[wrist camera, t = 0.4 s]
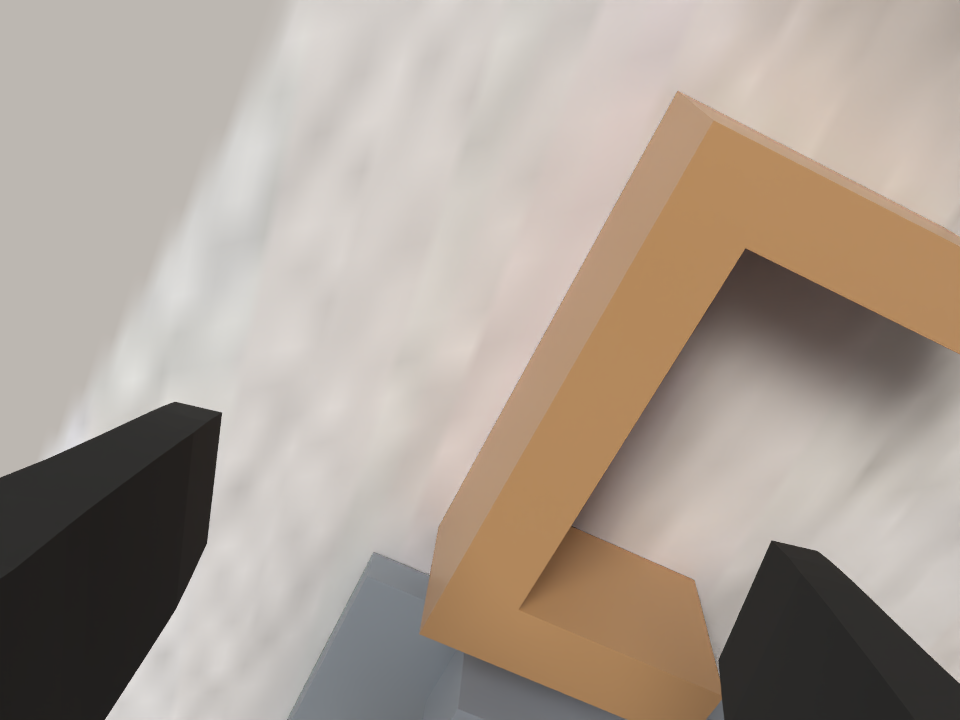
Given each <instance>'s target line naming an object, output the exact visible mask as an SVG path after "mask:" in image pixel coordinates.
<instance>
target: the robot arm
mask: <svg viewBox="0 0 960 720" xmlns="http://www.w3.org/2000/svg"><path fill="white" fill-rule="evenodd" d="M221 417H222V413H221V412H217V411H213V410H208V409H204V408H200V407H195V406H191V405H187V404H182V403H178V402H173V403H170V404H168V405H165V406H163V407H160V408H158V409H156V410H153V411H151V412H149V413H147V414H145V415H142V416H140V417H138V418H136V419H134V420H132V421H130V422H127V423H125V424H123V425H121V426H119V427H117V428H115V429H112V430H110V431H108V432H106V433H104V434H102V435H99V436H97V437H95V438H93V439H91V440H88V441H86V442H84V443H82V444H79V445H77V446H75V447H73V448H71V449H68V450H66V451H64V452H62V453H59V454H57V455H55V456H53V457H51V458H48V459H46V460H43V461H41V462H38V463H36V464H33V465H31V466H28V467H26V468H23V469H21V470H19V471H16V472H13V473H11V474H9V475H6V476H3V477H1V478H0V720H105V719H106V717H107V716H108V714H109V712H110V711H111V709H112V708H113V706H114V705H115V703H116V702H117V700H118V699H119V697H120V696H121V694H122V692H123V691H124V689H125V688H126V686H127V685H128V683H129V682H130V680H131V679H132V677H133V675H134V674H135V672H136V671H137V669H138V668H139V666H140V665H141V663H142V662H143V660H144V659H145V657H146V655H147V654H148V652H149V651H150V649H151V648H152V646H153V644H154V643H155V641H156V640H157V638H158V637H159V635H160V633H161V632H162V630H163V629H164V627H165V626H166V624H167V622H168V621H169V619H170V618H171V616H172V614H173V613H174V611H175V610H176V608H177V606H178V604H179V601H180V599H181V597H182V595H183V593H184V591H185V589H186V587H187V585H188V583H189V581H190V579H191V577H192V575H193V572H194V570H195V568H196V566H197V564H198V561H199V559H200V557H201V555H202V553H203V551H204V548H205V546H206V544H207V538H208V529H209V521H210V512H211V503H212V495H213V486H214V477H215V469H216V460H217V451H218V443H219V434H220V426H221ZM719 671H720V683H721V695H722V705H723V713H724V720H960V684H959V683H958V682H957V681H956V680H955V679H954V678H953V677H952V676H951V675H950V674H949V673H948V672H946V671H945V670H944V669H943V668H942V667H941V666H940V665H939V664H938V663H937V662H936V661H935V660H934V659H933V658H932V657H931V656H930V655H928V654H927V653H926V652H925V651H924V650H923V649H922V648H921V647H920V646H919V645H918V644H917V643H916V642H915V641H914V640H913V639H912V638H911V637H910V636H909V635H908V634H907V633H906V632H905V631H904V630H902V629H901V628H900V627H899V626H898V625H897V624H896V623H895V622H894V621H893V620H892V619H891V618H890V617H889V616H888V615H887V614H886V613H885V612H884V611H883V610H882V609H881V608H880V607H879V606H878V605H877V604H876V603H875V602H874V601H873V600H872V599H871V598H869V597H868V596H867V595H866V594H865V593H864V592H863V591H862V590H861V589H860V588H859V587H858V586H857V585H856V584H855V583H854V582H853V581H852V580H851V579H849V578H848V577H847V576H846V575H845V574H844V573H843V572H842V571H841V570H840V569H839V568H837V567H836V566H835V565H834V564H833V563H832V562H831V561H829V560H828V559H827V558H826V557H824V556H823V555H822V554H821V553H819V552H818V551H815V550H810V549H806V548H802V547H798V546H793V545H789V544H785V543H780V542H776V541H771V543H770V545H769V548H768V550H767V552H766V554H765V557H764V559H763V561H762V563H761V566H760V568H759V570H758V572H757V575H756V577H755V579H754V581H753V584H752V586H751V588H750V590H749V593H748V595H747V597H746V599H745V602H744V604H743V606H742V609H741V611H740V613H739V615H738V618H737V620H736V622H735V624H734V627H733V629H732V631H731V633H730V636H729V638H728V640H727V642H726V645H725V647H724V649H723V651H722V654H721V656H720V658H719Z"/></svg>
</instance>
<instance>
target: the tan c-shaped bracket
mask: <svg viewBox="0 0 960 720" xmlns="http://www.w3.org/2000/svg"><path fill="white" fill-rule="evenodd" d="M745 248H746V249H748V250H750V251H752V252H754V253H756V254H758V255H760V256H762V257H764V258H766V259H768V260H770V261H772V262H774V263H777V264H779V265H781V266H783V267H785V268H787V269H789V270H791V271H793V272H795V273H797V274H799V275H801V276H803V277H805V278H807V279H809V280H811V281H813V282H815V283H817V284H819V285H821V286H823V287H825V288H827V289H829V290H831V291H833V292H835V293H837V294H839V295H841V296H843V297H845V298H847V299H849V300H851V301H853V302H855V303H857V304H859V305H861V306H863V307H865V308H867V309H870V310H872V311H874V312H876V313H878V314H880V315H882V316H884V317H886V318H888V319H890V320H892V321H894V322H896V323H898V324H900V325H902V326H904V327H906V328H908V329H910V330H912V331H914V332H916V333H918V334H920V335H922V336H924V337H926V338H928V339H930V340H932V341H934V342H936V343H938V344H940V345H942V346H944V347H946V348H948V349H950V350H952V351H954V352H956V353H958V354H960V237H959V236H957V235H956V234H954V233H952V232H951V231H949V230H947V229H945V228H944V227H942V226H940V225H938V224H936V223H934V222H932V221H930V220H928V219H926V218H924V217H922V216H920V215H918V214H916V213H914V212H912V211H910V210H909V209H907V208H905V207H903V206H901V205H899V204H897V203H895V202H893V201H891V200H889V199H887V198H885V197H883V196H881V195H879V194H877V193H875V192H874V191H872V190H870V189H868V188H866V187H864V186H862V185H860V184H858V183H856V182H854V181H852V180H850V179H848V178H846V177H844V176H842V175H840V174H839V173H837V172H835V171H833V170H831V169H829V168H827V167H825V166H823V165H821V164H819V163H817V162H815V161H813V160H811V159H809V158H807V157H805V156H804V155H802V154H800V153H798V152H796V151H794V150H792V149H790V148H788V147H786V146H784V145H782V144H780V143H778V142H776V141H774V140H772V139H770V138H769V137H767V136H765V135H763V134H761V133H759V132H757V131H755V130H753V129H751V128H749V127H747V126H745V125H743V124H741V123H739V122H737V121H735V120H734V119H732V118H730V117H728V116H726V115H724V114H722V113H720V112H718V111H716V110H714V109H712V108H710V107H708V106H706V105H704V104H702V103H700V102H699V101H697V100H695V99H693V98H691V97H689V96H687V95H685V94H683V93H681V92H679V91H677V93H676V95H675V97H674V99H673V100H672V102H671V104H670V106H669V108H668V110H667V111H666V113H665V115H664V117H663V119H662V120H661V122H660V124H659V126H658V128H657V130H656V131H655V133H654V135H653V137H652V139H651V141H650V142H649V144H648V146H647V148H646V150H645V151H644V153H643V155H642V157H641V159H640V161H639V162H638V164H637V166H636V168H635V170H634V172H633V173H632V175H631V177H630V179H629V181H628V183H627V184H626V186H625V188H624V190H623V192H622V193H621V195H620V197H619V199H618V201H617V203H616V204H615V206H614V208H613V210H612V212H611V214H610V215H609V217H608V219H607V221H606V223H605V224H604V226H603V228H602V230H601V232H600V234H599V235H598V237H597V239H596V241H595V243H594V245H593V246H592V248H591V250H590V252H589V254H588V255H587V257H586V259H585V261H584V263H583V265H582V266H581V268H580V270H579V272H578V274H577V276H576V277H575V279H574V281H573V283H572V285H571V286H570V288H569V290H568V292H567V294H566V296H565V297H564V299H563V301H562V303H561V305H560V307H559V308H558V310H557V312H556V314H555V316H554V317H553V319H552V321H551V323H550V325H549V327H548V328H547V330H546V332H545V334H544V336H543V338H542V339H541V341H540V343H539V345H538V347H537V348H536V350H535V352H534V354H533V356H532V358H531V359H530V361H529V363H528V365H527V367H526V369H525V370H524V372H523V374H522V376H521V378H520V379H519V381H518V383H517V385H516V387H515V389H514V390H513V392H512V394H511V396H510V398H509V400H508V401H507V403H506V405H505V407H504V409H503V410H502V412H501V414H500V416H499V418H498V420H497V421H496V423H495V425H494V427H493V429H492V431H491V432H490V434H489V436H488V438H487V440H486V441H485V443H484V445H483V447H482V449H481V451H480V452H479V454H478V456H477V458H476V460H475V462H474V463H473V465H472V467H471V469H470V471H469V472H468V474H467V476H466V478H465V480H464V482H463V483H462V485H461V487H460V489H459V491H458V493H457V494H456V496H455V498H454V500H453V502H452V503H451V505H450V507H449V509H448V511H447V513H446V514H445V516H444V518H443V520H442V522H441V524H440V525H439V528H438V533H437V539H436V544H435V550H434V555H433V561H432V566H431V571H430V577H429V582H428V588H427V593H426V599H425V604H424V610H423V615H422V621H421V626H420V632H419V634H420V635H422V636H425V637H427V638H430V639H432V640H435V641H437V642H439V643H442V644H444V645H447V646H449V647H452V648H454V649H456V650H459V651H461V652H464V653H466V654H469V655H471V656H474V657H476V658H478V659H481V660H483V661H486V662H488V663H491V664H493V665H495V666H498V667H500V668H503V669H505V670H508V671H510V672H512V673H515V674H517V675H520V676H522V677H525V678H527V679H529V680H532V681H534V682H537V683H539V684H542V685H544V686H546V687H549V688H551V689H554V690H556V691H559V692H561V693H564V694H566V695H568V696H571V697H573V698H576V699H578V700H581V701H583V702H585V703H588V704H590V705H593V706H595V707H598V708H600V709H602V710H605V711H607V712H610V713H612V714H615V715H617V716H619V717H622V718H624V719H627V720H706V719H707V718H708V716H709V715H710V714H711V713H712V711H713V710H714V709H715V708H716V706H717V705H718V704H719V703H720V701H721V700H722V695H721V683H720V678H719V674H718V670H717V666H716V662H715V658H714V655H713V651H712V647H711V643H710V639H709V635H708V631H707V627H706V624H705V620H704V616H703V612H702V608H701V604H700V600H699V596H698V592H697V589H696V585H695V581H694V580H693V579H690V578H688V577H686V576H684V575H681V574H679V573H677V572H674V571H672V570H670V569H668V568H665V567H663V566H661V565H658V564H656V563H654V562H652V561H649V560H647V559H645V558H642V557H640V556H638V555H636V554H633V553H631V552H629V551H626V550H624V549H622V548H620V547H617V546H615V545H613V544H610V543H608V542H606V541H604V540H601V539H599V538H597V537H594V536H592V535H590V534H588V533H585V532H583V531H581V530H578V529H576V528H574V527H572V526H571V525H572V524H573V522H574V521H575V519H576V517H577V516H578V514H579V513H580V511H581V509H582V508H583V506H584V505H585V503H586V501H587V500H588V498H589V497H590V495H591V493H592V492H593V490H594V489H595V487H596V485H597V484H598V482H599V481H600V479H601V478H602V476H603V474H604V473H605V471H606V470H607V468H608V466H609V465H610V463H611V462H612V460H613V458H614V457H615V455H616V454H617V452H618V450H619V449H620V447H621V446H622V444H623V442H624V441H625V439H626V438H627V436H628V435H629V433H630V431H631V430H632V428H633V427H634V425H635V423H636V422H637V420H638V419H639V417H640V415H641V414H642V412H643V411H644V409H645V407H646V406H647V404H648V403H649V401H650V399H651V398H652V396H653V395H654V393H655V391H656V390H657V388H658V387H659V385H660V384H661V382H662V380H663V379H664V377H665V376H666V374H667V372H668V371H669V369H670V368H671V366H672V364H673V363H674V361H675V360H676V358H677V356H678V355H679V353H680V352H681V350H682V348H683V347H684V345H685V344H686V342H687V341H688V339H689V337H690V336H691V334H692V333H693V331H694V329H695V328H696V326H697V325H698V323H699V321H700V320H701V318H702V317H703V315H704V313H705V312H706V310H707V309H708V307H709V305H710V304H711V302H712V301H713V299H714V298H715V296H716V294H717V293H718V291H719V290H720V288H721V286H722V285H723V283H724V282H725V280H726V278H727V277H728V275H729V274H730V272H731V270H732V269H733V267H734V266H735V264H736V262H737V261H738V259H739V258H740V256H741V255H742V253H743V251H744V250H745Z"/></svg>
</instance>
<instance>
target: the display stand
mask: <svg viewBox="0 0 960 720" xmlns="http://www.w3.org/2000/svg"><path fill="white" fill-rule="evenodd" d="M429 577H430V576H429V575H427V574H425V573H422V572H420V571H417V570H415V569H413V568H410V567H408V566H406V565H403V564H401V563H398V562H396V561H394V560H391V559H389V558H387V557H384V556H382V555H379V554H377V553H375V552H374V553H373V555H372V557H371V559H370V560H369V562H368V564H367V566H366V568H365V570H364V572H363V574H362V576H361V578H360V580H359V582H358V584H357V586H356V588H355V589H354V591H353V593H352V595H351V597H350V599H349V601H348V603H347V605H346V607H345V609H344V611H343V613H342V615H341V617H340V618H339V620H338V622H337V624H336V626H335V628H334V630H333V632H332V634H331V636H330V638H329V640H328V642H327V644H326V646H325V647H324V649H323V651H322V653H321V655H320V657H319V659H318V661H317V663H316V665H315V667H314V669H313V671H312V673H311V675H310V677H309V678H308V680H307V682H306V684H305V686H304V688H303V690H302V692H301V694H300V696H299V698H298V700H297V702H296V704H295V706H294V707H293V709H292V711H291V713H290V715H289V717H288V719H287V720H627V719H624V718H622V717H619V716H617V715H615V714H612V713H610V712H607V711H605V710H602V709H600V708H598V707H595V706H593V705H590V704H588V703H585V702H583V701H581V700H578V699H576V698H573V697H571V696H568V695H566V694H564V693H561V692H559V691H556V690H554V689H551V688H549V687H546V686H544V685H542V684H539V683H537V682H534V681H532V680H529V679H527V678H525V677H522V676H520V675H517V674H515V673H512V672H510V671H508V670H505V669H503V668H500V667H498V666H495V665H493V664H491V663H488V662H486V661H483V660H481V659H478V658H476V657H474V656H471V655H469V654H466V653H464V652H461V651H459V650H456V649H454V648H452V647H449V646H447V645H444V644H442V643H439V642H437V641H435V640H432V639H430V638H427V637H425V636H422V635H420V634H419V632H420V626H421V621H422V615H423V610H424V604H425V599H426V593H427V588H428V582H429ZM706 720H724V713H723V705H722V700H721V701H720V703H719V704H718V705H717V706H716V708H715V709H714V710H713V711H712V713H711V714H710V715H709V716H708V718H707V719H706Z"/></svg>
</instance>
